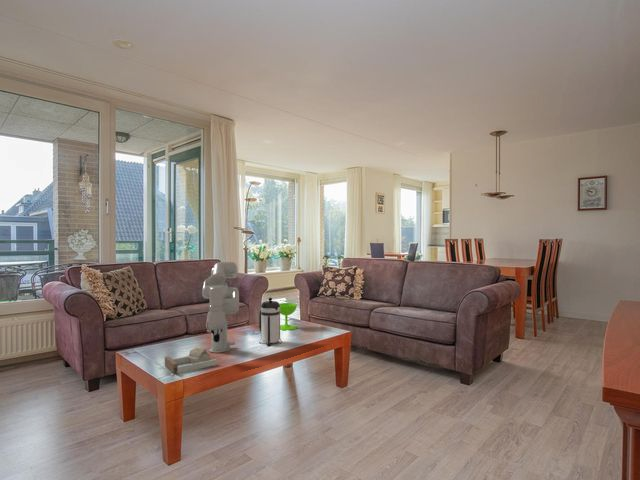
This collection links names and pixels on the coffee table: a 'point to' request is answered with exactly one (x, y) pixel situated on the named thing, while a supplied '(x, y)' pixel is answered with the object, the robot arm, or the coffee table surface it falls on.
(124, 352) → the coffee table surface
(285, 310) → the wineglass
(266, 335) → the coffee press
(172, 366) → the channel
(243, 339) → the coffee table surface
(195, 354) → the fossil replica
